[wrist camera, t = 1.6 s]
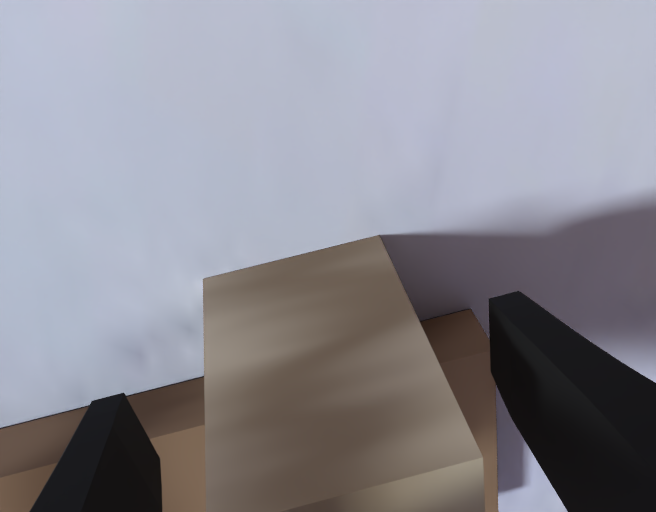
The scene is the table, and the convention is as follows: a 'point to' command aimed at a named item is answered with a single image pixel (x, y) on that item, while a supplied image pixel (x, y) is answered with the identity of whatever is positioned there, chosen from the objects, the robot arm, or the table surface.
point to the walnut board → (189, 425)
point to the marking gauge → (329, 393)
